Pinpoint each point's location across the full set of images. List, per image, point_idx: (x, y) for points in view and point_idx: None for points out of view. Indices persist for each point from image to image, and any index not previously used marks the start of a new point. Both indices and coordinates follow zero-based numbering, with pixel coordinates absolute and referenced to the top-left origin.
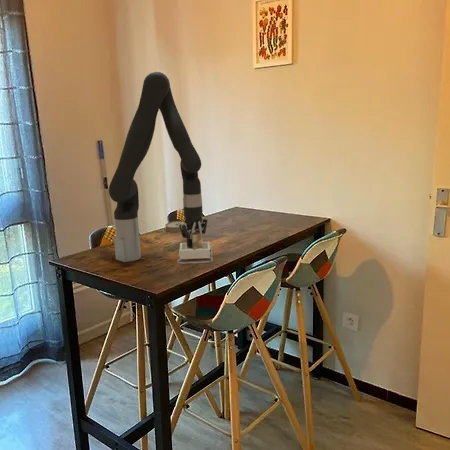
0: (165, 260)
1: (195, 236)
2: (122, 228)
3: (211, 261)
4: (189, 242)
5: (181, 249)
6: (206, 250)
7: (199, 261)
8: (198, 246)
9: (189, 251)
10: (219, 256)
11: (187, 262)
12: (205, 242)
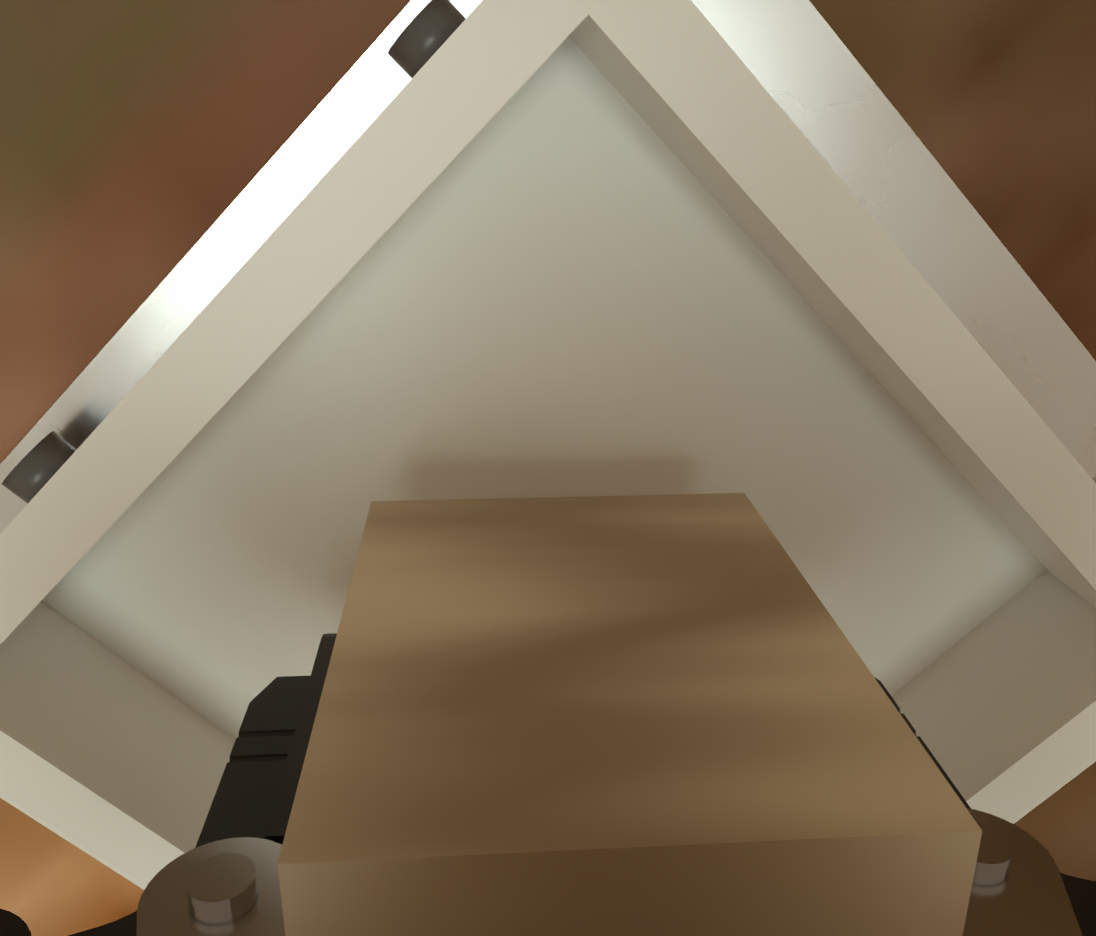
0: (1081, 817)
1: (835, 773)
2: None
3: None
4: (929, 752)
5: (1060, 728)
6: None
7: (840, 106)
8: (578, 524)
9: (1051, 439)
10: (69, 33)
11: (1053, 310)
12: (9, 736)
